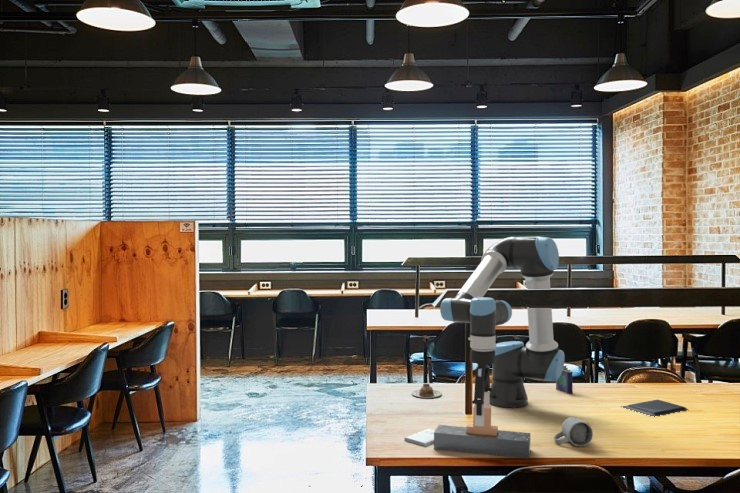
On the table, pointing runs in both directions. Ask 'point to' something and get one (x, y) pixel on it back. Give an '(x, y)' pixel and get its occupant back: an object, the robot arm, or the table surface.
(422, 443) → the external hard drive
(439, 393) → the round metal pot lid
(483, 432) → the tan wooden block
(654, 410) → the dark gray flat slab
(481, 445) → the rail
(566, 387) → the flask
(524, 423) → the table surface
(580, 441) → the ceramic mug
